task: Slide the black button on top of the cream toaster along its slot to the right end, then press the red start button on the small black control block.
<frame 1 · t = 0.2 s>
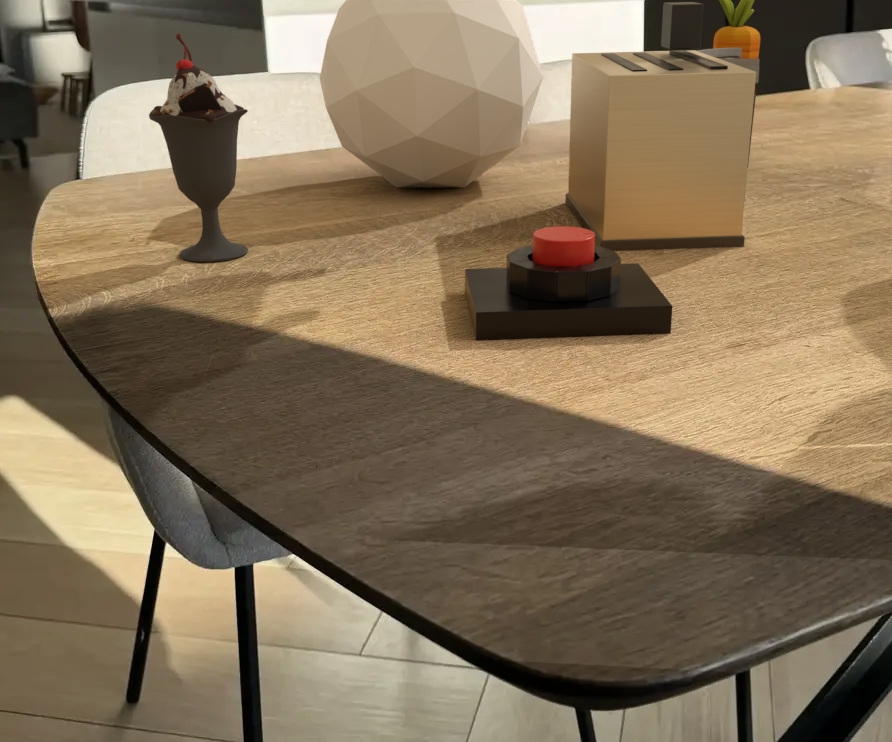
carrot: (728, 136, 124), on the table
food container: (709, 161, 111), on the table
start button: (563, 248, 65), point 4 cm above the table, slide at 0.1 cm
toaster: (647, 223, 87), on the table
ball: (432, 185, 103), on the table
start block: (561, 313, 67), on the table
sundae: (213, 256, 81), on the table
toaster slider: (681, 25, 86), point 14 cm above the table, slide at 0.0 cm
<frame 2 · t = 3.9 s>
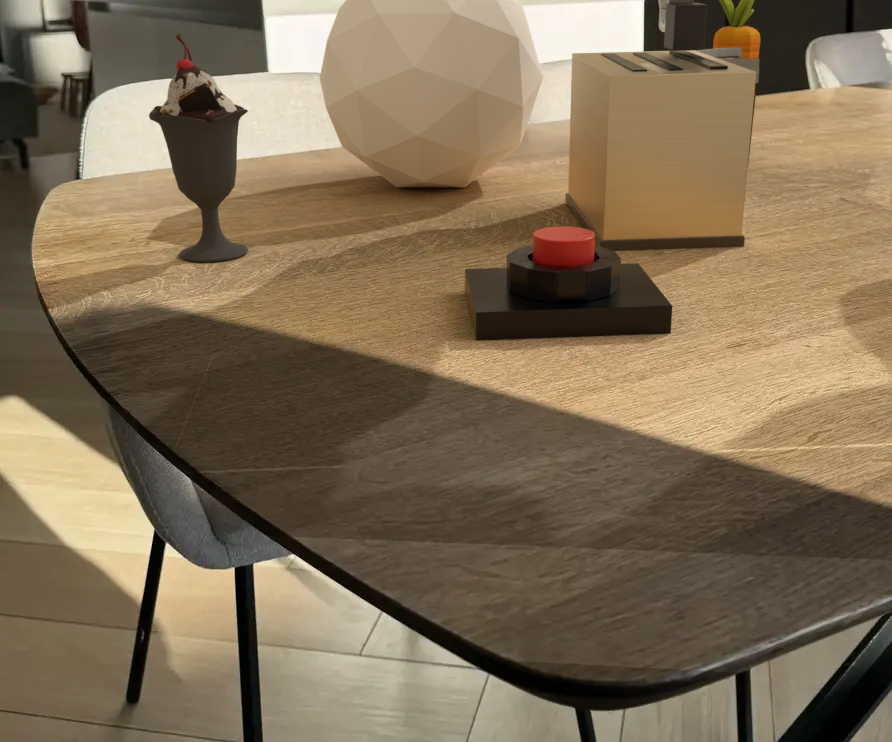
hand: (673, 33, 88), 13 cm above the table, tool pointing down, fingers closed
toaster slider: (685, 26, 85), point 14 cm above the table, slide at 1.0 cm, touching gripper
everything else where it was.
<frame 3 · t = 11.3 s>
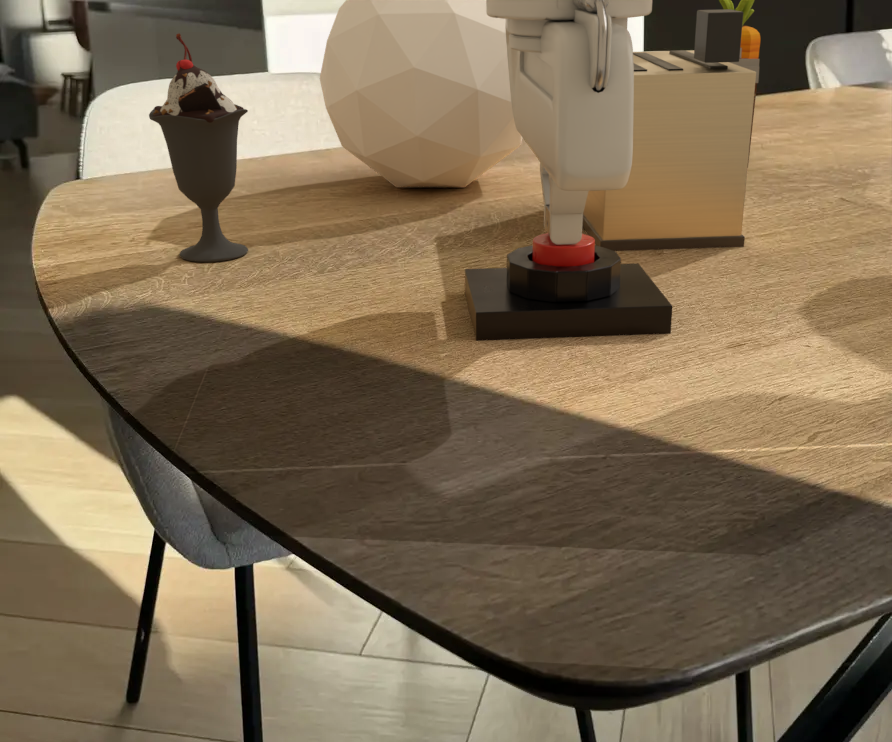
hand: (562, 238, 65), 5 cm above the table, tool pointing down, fingers closed, pressing on start button
start button: (563, 253, 65), point 4 cm above the table, slide at -0.2 cm, touching gripper
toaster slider: (718, 35, 77), point 14 cm above the table, slide at 10.1 cm
everything else where it was.
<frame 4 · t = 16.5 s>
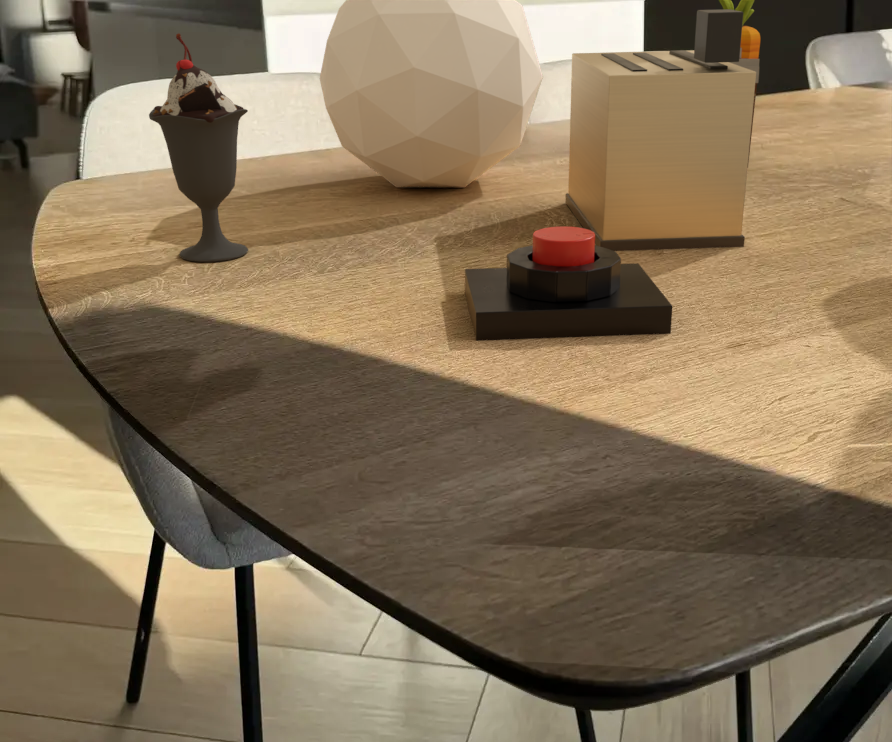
start button: (563, 248, 65), point 4 cm above the table, slide at 0.1 cm
everything else where it was.
at the end: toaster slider slide at 10.1 cm; start button pushed in 1.0 cm at the most during the clip, back to where it started at the end; start button slide at 0.1 cm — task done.
